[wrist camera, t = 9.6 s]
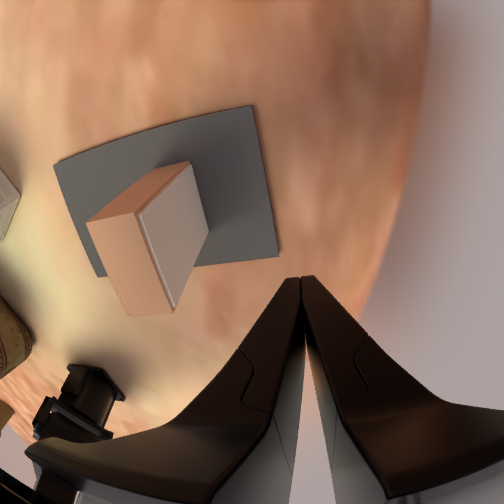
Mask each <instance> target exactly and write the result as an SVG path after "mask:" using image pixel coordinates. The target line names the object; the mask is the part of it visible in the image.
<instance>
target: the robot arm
mask: <svg viewBox="0 0 504 504" xmlns="http://www.w3.org/2000/svg"><path fill="white" fill-rule="evenodd" d="M305 335H306V338H305ZM306 345H307V351H308V356H309V361H310V366H311V370H312V375H313V380H314V385H315V390H316V394H317V400H318V405H319V410H320V415H321V421H322V425H323V431H324V436H325V441H326V447H327V453H328V458H329V464H330V469H331V474H332V481H333V487H334V493H335V499H336V504H504V410H496V409H489V408H481V407H474V406H468V405H461V404H455V403H450V402H447V401H445V400H442V399H441V398H439V397H437V396H436V395H434V394H433V393H432V392H430V391H429V390H428V389H427V388H426V387H424V386H423V385H422V384H421V383H420V382H419V381H417V380H416V379H415V378H414V377H413V376H411V375H410V374H409V373H408V372H407V371H406V370H404V369H403V368H402V367H401V366H400V365H399V364H397V363H396V362H395V361H394V360H393V359H392V358H391V357H390V356H388V355H387V354H386V353H385V352H384V351H383V349H381V347H380V346H379V345H378V344H377V343H376V342H375V341H374V340H373V339H372V338H371V337H370V336H368V333H367V332H366V331H365V330H364V329H363V328H362V327H361V326H360V325H359V323H358V322H357V321H356V320H355V319H354V318H353V317H352V316H351V315H350V314H349V313H348V311H347V310H346V309H345V308H344V307H343V306H342V305H341V304H340V303H339V302H338V301H337V300H336V299H335V297H334V296H333V295H332V294H331V293H330V292H329V291H328V290H327V289H326V288H325V287H324V286H323V285H322V284H321V282H320V281H319V280H318V279H317V278H316V277H315V276H314V275H309V276H302V277H301V278H299V277H292V278H286V279H285V280H284V282H283V283H282V285H281V286H280V288H279V289H278V291H277V292H276V294H275V295H274V297H273V298H272V299H271V301H270V302H269V304H268V305H267V307H266V308H265V310H264V311H263V313H262V314H261V315H260V317H259V318H258V320H257V321H256V323H255V324H254V326H253V327H252V328H251V330H250V331H249V333H248V334H247V335H246V337H245V338H244V340H243V341H242V343H241V344H240V345H239V347H238V349H236V351H235V352H234V354H233V355H232V356H231V358H230V359H229V360H228V362H227V363H226V364H225V365H224V367H223V368H222V369H221V371H220V372H219V373H218V374H217V375H216V376H215V377H214V378H213V380H212V381H211V382H210V383H209V384H208V385H207V386H206V387H205V388H204V389H203V390H202V391H201V392H200V393H199V394H198V395H197V396H196V397H195V398H194V399H193V400H192V401H191V402H190V403H189V405H188V406H187V407H186V408H185V409H184V410H183V411H182V412H181V413H179V414H178V415H177V416H176V417H175V418H174V419H172V420H171V421H169V422H168V423H166V424H164V425H162V426H160V427H157V428H153V429H150V430H146V431H142V432H139V433H135V434H131V435H127V436H123V437H119V438H115V439H112V438H113V434H114V433H113V432H111V431H108V430H106V429H104V426H105V424H106V421H107V419H108V416H109V414H110V411H111V409H112V407H113V404H114V402H115V400H116V401H125V399H126V398H125V397H124V395H123V394H122V393H121V392H120V390H119V389H118V388H117V387H116V385H115V384H114V383H113V381H112V380H111V379H110V378H109V376H108V375H107V374H106V372H105V371H104V370H103V369H101V368H93V367H84V366H76V365H68V366H67V369H68V371H69V372H70V373H69V375H68V377H67V379H66V380H65V382H64V384H63V386H62V388H61V392H62V393H61V395H60V397H59V398H58V400H57V399H56V397H54V396H53V397H52V398H51V397H48V396H46V397H45V399H44V401H43V403H42V405H41V407H40V408H39V410H38V412H37V414H36V416H35V418H34V420H33V422H32V425H33V428H34V430H33V432H34V434H33V436H32V437H33V438H35V439H36V440H37V442H35V443H33V444H32V445H30V446H29V447H28V448H27V449H26V450H25V452H24V453H25V454H26V456H27V457H28V458H30V459H31V460H32V462H33V466H34V470H35V474H36V478H37V480H36V483H35V485H34V488H33V489H31V488H30V487H28V486H26V485H25V484H23V483H21V482H20V481H18V480H17V479H15V478H14V477H12V476H11V475H9V474H8V473H6V472H5V471H4V470H2V469H1V468H0V504H74V501H75V497H76V494H77V491H80V492H79V495H78V498H77V501H76V504H288V502H289V497H290V490H291V483H292V476H293V469H294V462H295V454H296V446H297V438H298V429H299V420H300V411H301V402H302V391H303V380H304V367H305V355H306ZM50 411H51V412H52V413H49V412H50Z"/></svg>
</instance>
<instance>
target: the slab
mask: <svg viewBox="0 0 504 504" xmlns="http://www.w3.org/2000/svg"><path fill="white" fill-rule="evenodd" d="M86 225H87V228H88V230H89V233H90V235H91V238H92V240H93V242H94V245H95V247H96V249H97V252H98V254H99V256H100V259H101V261H102V263H103V265H104V268H105V270H106V272H107V274H108V276H109V278H110V281H111V283H112V285H113V287H114V289H115V291H116V293H117V295H118V297H119V299H120V301H121V303H122V305H123V307H124V309H125V311H126V313H127V315H152V314H173V312H174V310H175V308H176V305H177V303H178V301H179V298H180V296H181V294H182V291H183V289H184V287H185V284H186V282H187V280H188V277H189V275H190V273H191V270H192V268H193V266H194V264H195V261H196V259H197V257H198V254H199V252H200V250H201V248H202V246H203V243H204V241H205V239H206V237H207V234H208V232H209V230H208V226H207V222H206V218H205V215H204V211H203V207H202V203H201V200H200V196H199V192H198V188H197V184H196V180H195V176H194V172H193V168H192V164H190V162H189V161H186V162H181V163H177V164H172V165H168V166H164V167H159V168H155V169H152V170H151V171H150V172H148V173H147V174H146V175H144V176H143V177H142V178H140V179H139V180H138V181H136V182H135V183H134V184H133V185H131V186H130V187H129V188H127V189H126V190H125V191H124V192H122V193H121V194H120V195H119V196H117V197H116V198H115V199H114V200H112V201H111V202H110V203H109V204H107V205H106V206H105V207H104V208H103V209H101V210H100V211H99V212H98V213H97V214H96V215H94V216H93V217H92V218H91V219H90V220H89V221H87V222H86Z"/></svg>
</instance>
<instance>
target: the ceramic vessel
mask: <svg viewBox="0 0 504 504" xmlns="http://www.w3.org/2000/svg"><path fill="white" fill-rule="evenodd" d="M31 350H32V340H31V336H30V333H29V330H28V329H27V327H26V326H25V324H24V323H23V322H22V321H21V320H20V319H19V317H18V316H17V315H16V314H15V313H14V311H13V310H12V309H11V308H10V307H9V306H8V305H7V304H6V303H5V301H4V300H3V299H2V298H1V297H0V379H1V378H3V377H4V376H6V375H7V374H8V373H10V372H11V371H12V370H13V369H15V368H16V367H17V366H18V365H20V364H21V363H22V362H24V361H25V360H26V359H27V358H28V357H29V355H30V353H31Z"/></svg>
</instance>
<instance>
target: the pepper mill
mask: <svg viewBox="0 0 504 504" xmlns="http://www.w3.org/2000/svg"><path fill="white" fill-rule="evenodd" d="M14 413H15V412H14V410H13V409H12V408H11V407H10V406H9V405H7V404H6V403H5V402H4V401H2V400H1V399H0V436H1V430H2V429H3V427H4V426H5V425H6V423H7V422H8V421H9V419H10V418H11V417H12V415H13V414H14Z"/></svg>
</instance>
